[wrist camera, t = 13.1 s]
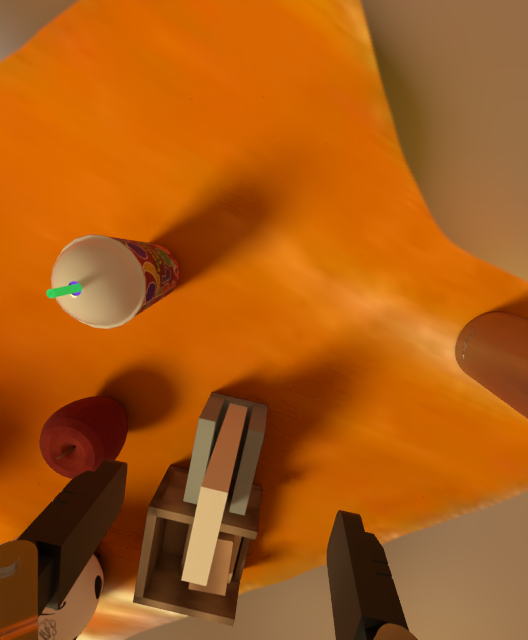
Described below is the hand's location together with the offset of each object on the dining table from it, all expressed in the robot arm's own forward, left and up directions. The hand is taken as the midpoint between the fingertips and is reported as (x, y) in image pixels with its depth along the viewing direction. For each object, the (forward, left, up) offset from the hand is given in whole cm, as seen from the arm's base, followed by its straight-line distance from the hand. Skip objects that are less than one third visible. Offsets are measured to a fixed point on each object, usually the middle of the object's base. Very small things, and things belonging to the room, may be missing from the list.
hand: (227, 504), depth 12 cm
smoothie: (+15, -3, -32) cm, 36 cm away
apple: (+19, +19, -32) cm, 42 cm away
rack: (+2, +33, -32) cm, 46 cm away
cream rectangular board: (+1, +18, -31) cm, 36 cm away
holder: (+1, +18, -32) cm, 37 cm away
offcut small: (0, +33, -28) cm, 43 cm away
